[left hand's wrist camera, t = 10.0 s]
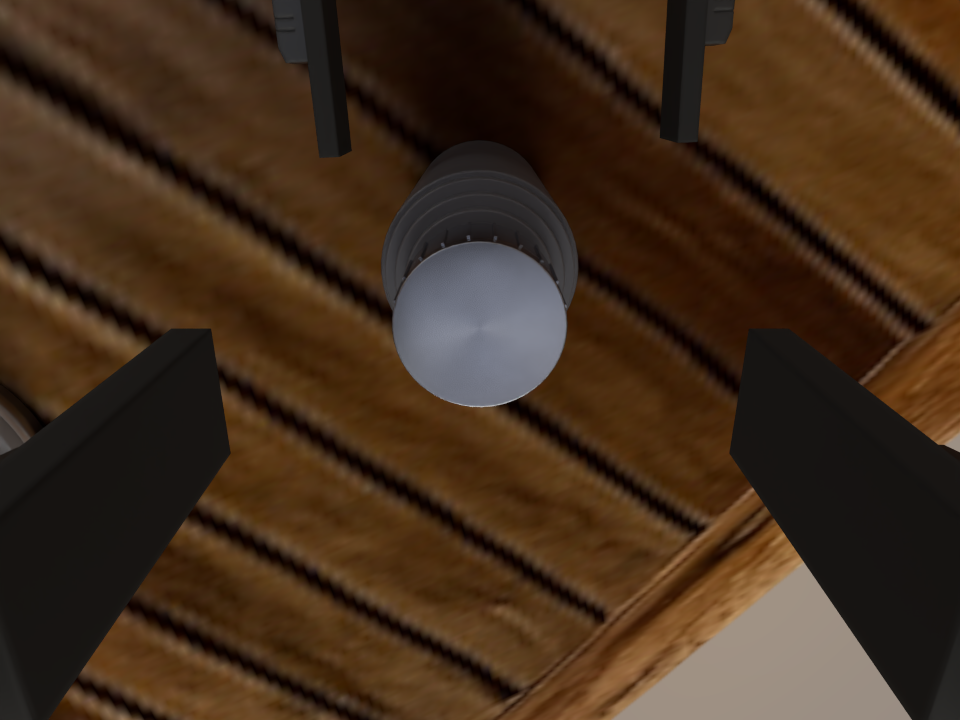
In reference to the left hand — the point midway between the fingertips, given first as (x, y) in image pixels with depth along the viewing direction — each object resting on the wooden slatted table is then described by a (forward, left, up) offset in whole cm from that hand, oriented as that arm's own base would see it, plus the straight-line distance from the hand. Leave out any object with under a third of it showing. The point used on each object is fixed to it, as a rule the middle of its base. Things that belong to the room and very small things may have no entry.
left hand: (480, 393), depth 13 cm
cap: (0, 0, -4) cm, 4 cm away
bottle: (0, 0, -22) cm, 22 cm away
